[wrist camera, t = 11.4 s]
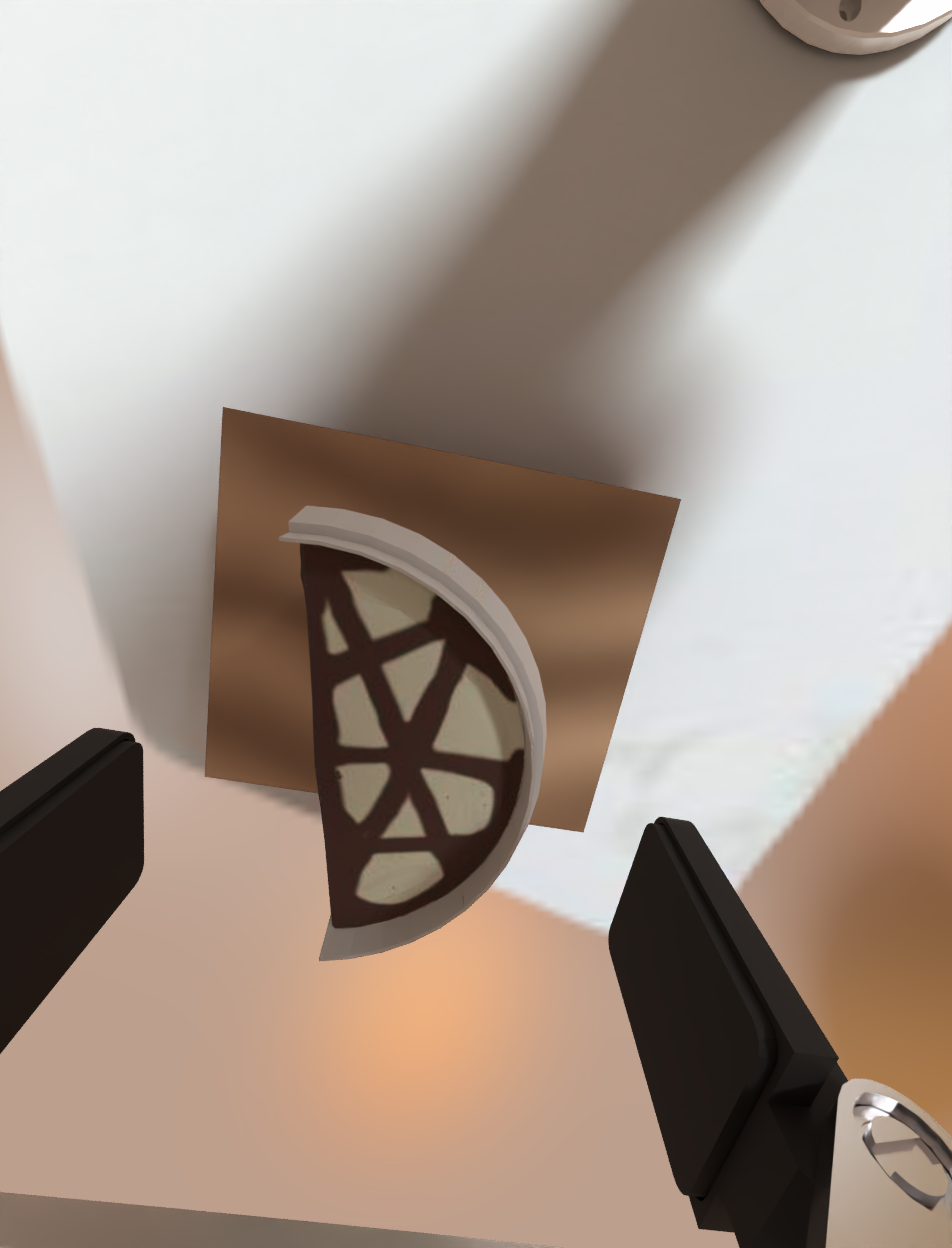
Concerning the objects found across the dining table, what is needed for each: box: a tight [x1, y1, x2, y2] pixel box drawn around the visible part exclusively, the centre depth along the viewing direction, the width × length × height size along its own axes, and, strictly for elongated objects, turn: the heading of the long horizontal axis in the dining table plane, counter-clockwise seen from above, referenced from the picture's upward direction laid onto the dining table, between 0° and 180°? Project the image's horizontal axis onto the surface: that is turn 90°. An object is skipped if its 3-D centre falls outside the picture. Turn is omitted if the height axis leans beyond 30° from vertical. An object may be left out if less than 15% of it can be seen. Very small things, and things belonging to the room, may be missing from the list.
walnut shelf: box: [205, 407, 681, 832], centre depth 24 cm, size 16×18×6 cm
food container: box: [279, 506, 547, 961], centre depth 17 cm, size 12×6×10 cm, turn 179°
